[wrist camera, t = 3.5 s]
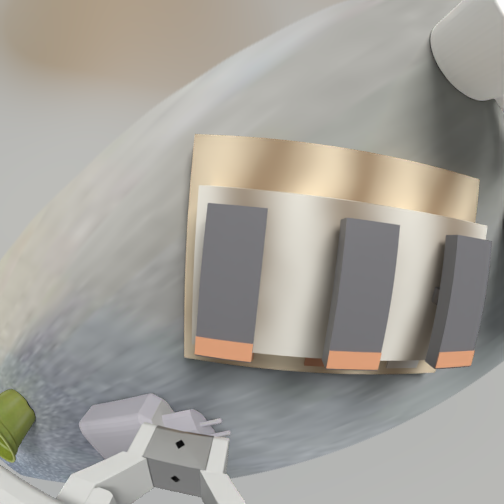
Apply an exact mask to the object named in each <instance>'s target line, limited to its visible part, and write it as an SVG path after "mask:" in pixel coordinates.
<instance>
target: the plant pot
mask: <svg viewBox="0 0 504 504" xmlns="http://www.w3.org/2000/svg"><path fill="white" fill-rule="evenodd" d="M34 421H35V414H34V412H33V410H32V409H31V408H30V407H29V406H28V404H27V401H26V400H25V399H24V397H22V396H21V395H20V394H19V393H18V392H16V391H15V390H13V389H10V390H6V391H4V392H2V393H1V394H0V456H1V457H2V458H3V459H5V460H7V461H9V462H15V460H16V457H15V455H16V453H17V451H18V447H19V445H20V444H21V442H22V440H23V439H24V437H25V435H26V434H27V432H28V431H29V429H30V427H31V426H32V424H33V423H34Z"/></svg>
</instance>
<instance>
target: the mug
mask: <svg viewBox="0 0 504 504" xmlns="http://www.w3.org/2000/svg"><path fill="white" fill-rule="evenodd" d="M430 42H431V49H432V52H433V55H434V58H435V60H436V62H437V64H438V66H439V68H440V70H441V71H442V73H443V74H444V75H445V77H446V78H447V79H448V80H449V82H450V83H451V84H452V85H453V86H454V87H455V88H456V89H458V90H459V91H460V92H462V93H463V94H465V95H466V96H468V97H470V98H472V99H475V100H479V101H486V100H490V99H495V100H496V102H497V103H498V105H499V107H500V108H501V110H502V111H503V113H504V0H462V1H461V2H460V3H459V4H458V5H457V6H456V7H455V8H453V9H452V10H451V11H450V12H449V13H448V14H447V15H446V16H445V17H444V18H443V19H442V20H441V21H439V22H438V23H437V24H436V25H435V26H434V28H433V30H432V32H431V38H430Z"/></svg>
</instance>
